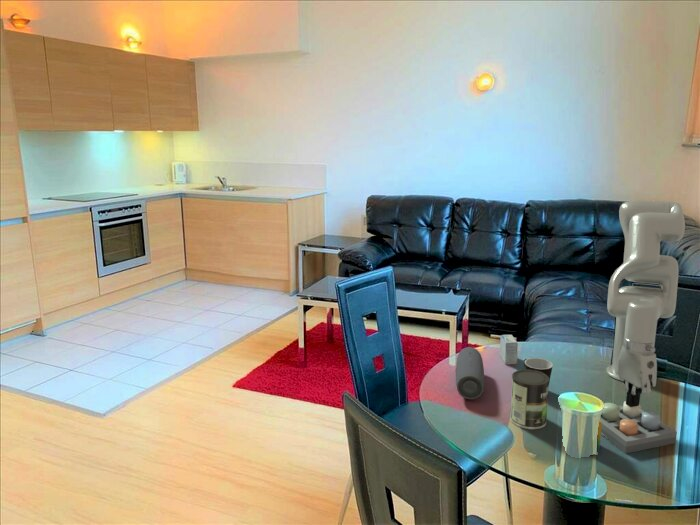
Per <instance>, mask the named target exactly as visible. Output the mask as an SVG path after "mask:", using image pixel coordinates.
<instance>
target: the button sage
mask: <svg viewBox="0 0 700 525" xmlns="http://www.w3.org/2000/svg"><path fill="white" fill-rule="evenodd" d="M603 405H604V409H603V408H602V409H603V412H602V417H603V418H605V419H607V420H610V421H617V420H619V414H620V407H619V406H620V405H618V404H616V403H613V402H605V403H603V404H602V406H603Z"/></svg>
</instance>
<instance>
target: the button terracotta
mask: <svg viewBox="0 0 700 525" xmlns="http://www.w3.org/2000/svg"><path fill="white" fill-rule="evenodd" d="M619 431H620V432H622V433H623V434H624V435H626V436H627V437H628V436H633V435H637V432H638V423H637V422H635V421H633V420H629V419H622V420H621V421H620V427H619Z"/></svg>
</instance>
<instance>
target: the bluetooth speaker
mask: <svg viewBox="0 0 700 525" xmlns="http://www.w3.org/2000/svg"><path fill="white" fill-rule="evenodd" d="M454 372H455V382H456V383H455V387H456V390H457V393H458V394H459V395H460V396H461V398H463V399H467V400H476V399H479V397H481V396H482V394H483V393H484V389H485V368H484V362H483V358H482V354H481V352H480V351H479V350H478V349H476V348H475V347H471V346H467V347H464V348H462V349H461V350H460V351H459V352H458V355H457V357H456V366H455V371H454Z"/></svg>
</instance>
